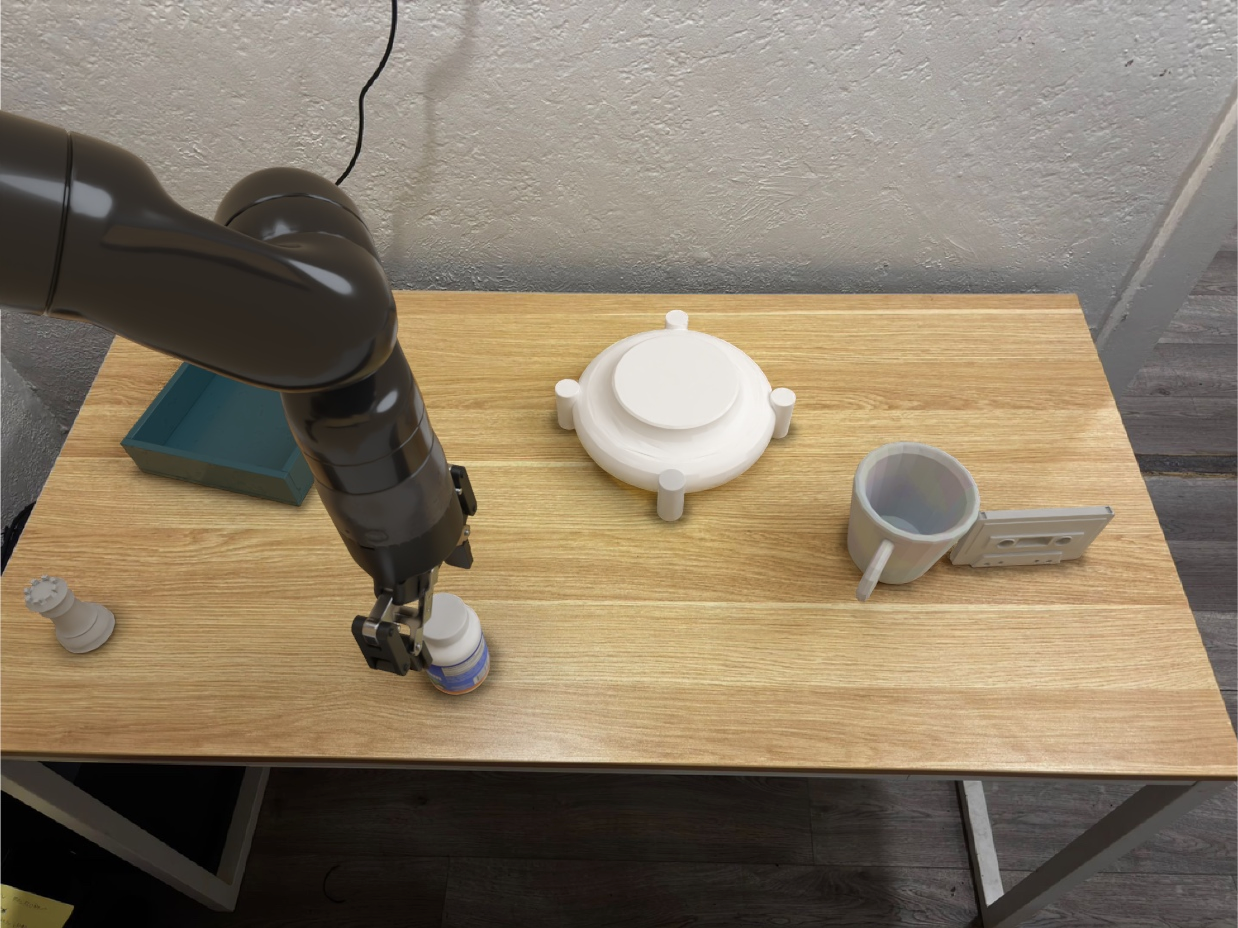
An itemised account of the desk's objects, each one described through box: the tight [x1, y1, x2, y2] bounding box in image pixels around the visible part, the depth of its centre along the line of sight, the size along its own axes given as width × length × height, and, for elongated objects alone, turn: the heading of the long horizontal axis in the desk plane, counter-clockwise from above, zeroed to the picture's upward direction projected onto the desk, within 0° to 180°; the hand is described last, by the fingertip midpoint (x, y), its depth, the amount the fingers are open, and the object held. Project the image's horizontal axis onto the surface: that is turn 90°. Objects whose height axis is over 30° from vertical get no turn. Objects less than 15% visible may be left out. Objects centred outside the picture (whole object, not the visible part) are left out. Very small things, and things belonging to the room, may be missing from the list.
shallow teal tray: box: [119, 361, 315, 507], centre depth 86 cm, size 18×18×5 cm
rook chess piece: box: [22, 574, 116, 654], centre depth 71 cm, size 4×4×8 cm
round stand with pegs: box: [554, 309, 797, 522], centre depth 84 cm, size 24×24×7 cm
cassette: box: [949, 505, 1116, 568], centre depth 74 cm, size 12×2×8 cm, turn 93°
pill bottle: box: [423, 592, 491, 696], centre depth 68 cm, size 5×5×10 cm
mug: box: [846, 440, 981, 603], centre depth 73 cm, size 10×15×10 cm
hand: (439, 611), depth 64 cm, fingers open, 8 cm apart
